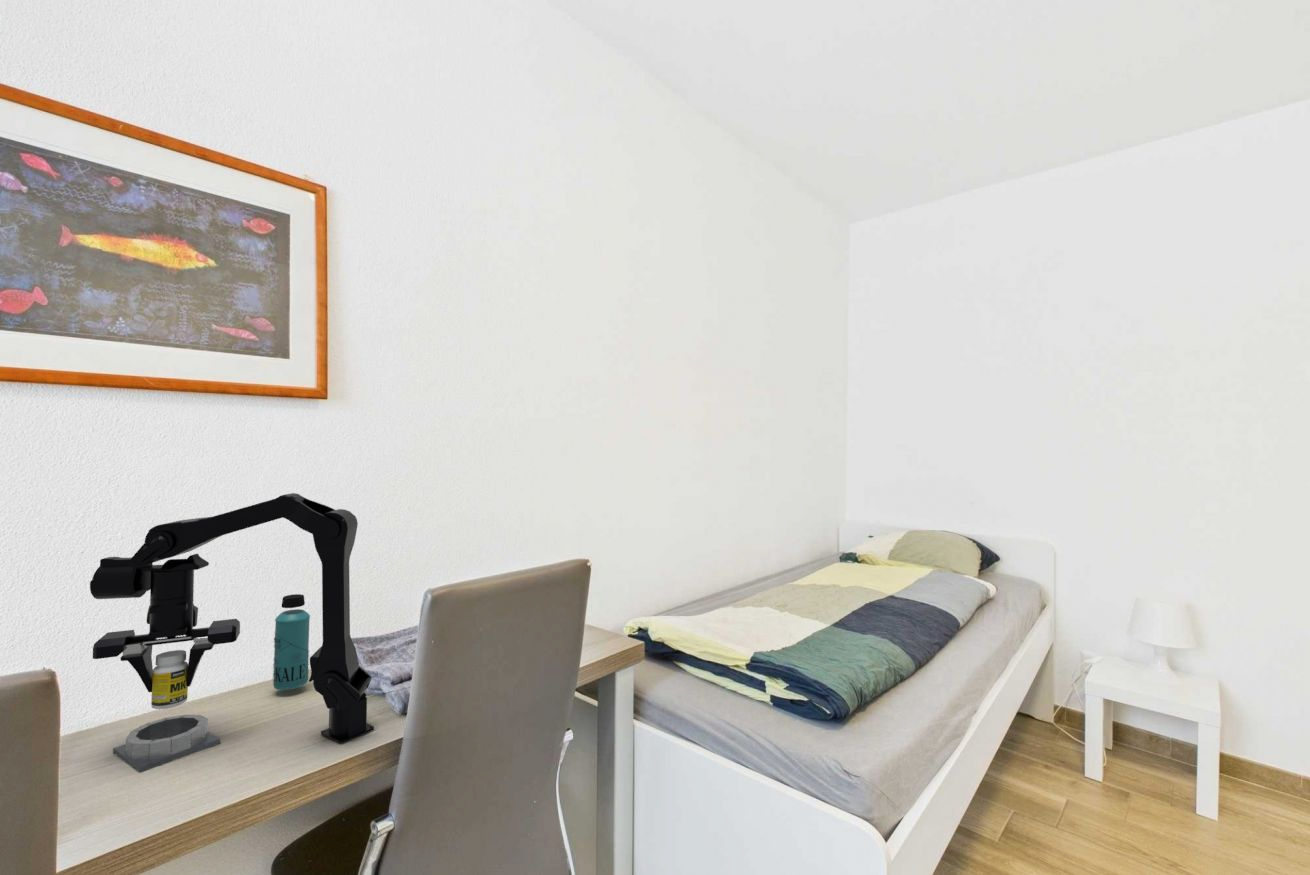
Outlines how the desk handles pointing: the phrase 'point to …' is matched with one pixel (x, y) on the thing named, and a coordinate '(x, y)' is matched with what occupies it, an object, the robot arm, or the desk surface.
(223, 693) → the desk surface
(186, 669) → the supplement bottle
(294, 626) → the beverage bottle
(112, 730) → the desk surface
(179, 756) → the ring plate
